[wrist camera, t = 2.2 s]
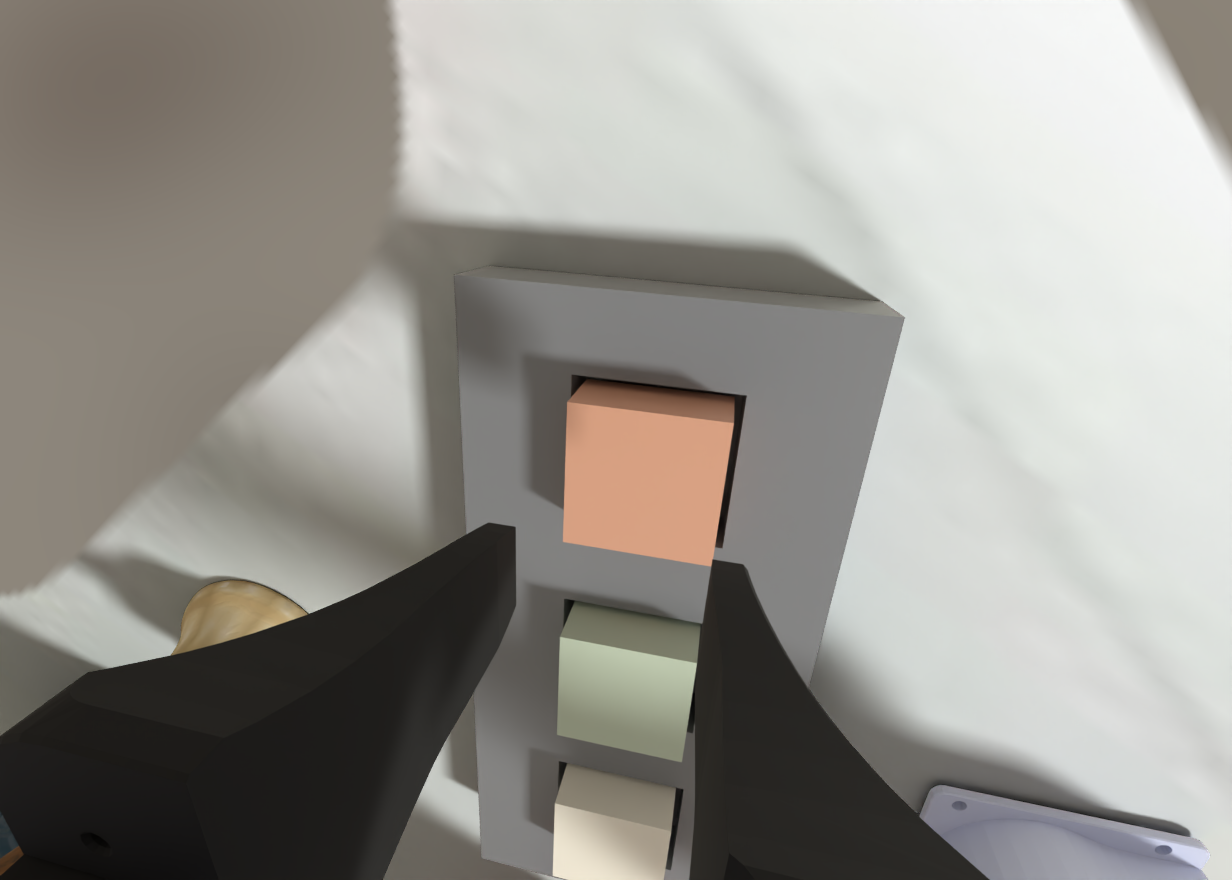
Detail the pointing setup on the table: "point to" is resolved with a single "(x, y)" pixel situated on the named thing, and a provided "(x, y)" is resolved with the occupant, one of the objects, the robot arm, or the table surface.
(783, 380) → the keypad
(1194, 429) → the table surface
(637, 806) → the cream key
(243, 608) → the hand bell
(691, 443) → the terracotta key
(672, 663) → the sage key
